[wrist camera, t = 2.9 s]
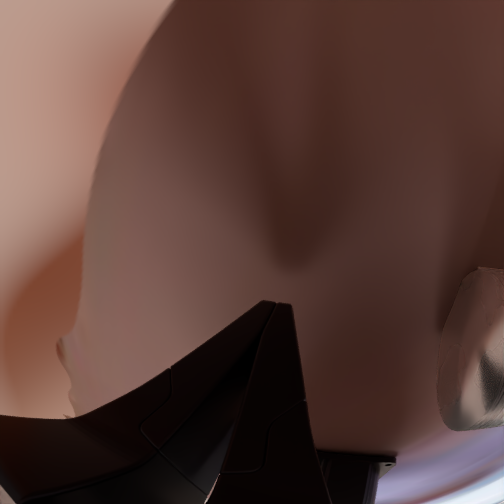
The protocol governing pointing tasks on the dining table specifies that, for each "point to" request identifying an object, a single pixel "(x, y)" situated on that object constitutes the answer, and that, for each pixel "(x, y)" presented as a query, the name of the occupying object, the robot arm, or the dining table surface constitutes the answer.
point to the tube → (473, 354)
